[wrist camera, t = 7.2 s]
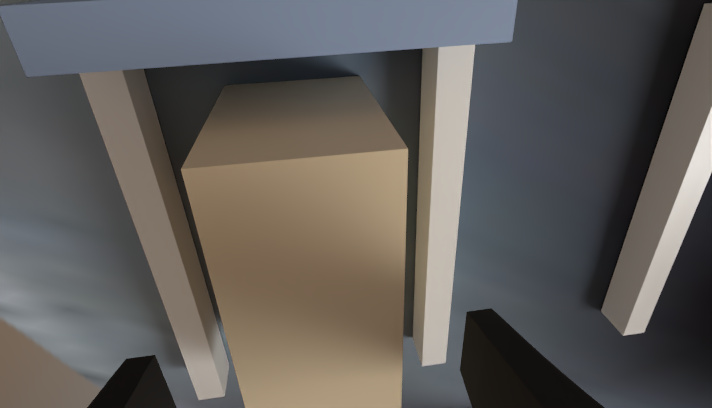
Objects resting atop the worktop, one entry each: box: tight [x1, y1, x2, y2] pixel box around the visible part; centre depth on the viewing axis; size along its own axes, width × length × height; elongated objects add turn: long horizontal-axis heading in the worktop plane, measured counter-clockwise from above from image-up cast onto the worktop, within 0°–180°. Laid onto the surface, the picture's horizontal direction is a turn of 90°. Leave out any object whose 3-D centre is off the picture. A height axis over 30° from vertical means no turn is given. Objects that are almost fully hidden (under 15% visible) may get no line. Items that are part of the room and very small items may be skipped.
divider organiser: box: [0, 0, 712, 400], centre depth 13 cm, size 14×19×4 cm
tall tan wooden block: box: [181, 76, 408, 408], centre depth 12 cm, size 10×4×6 cm, turn 2°
